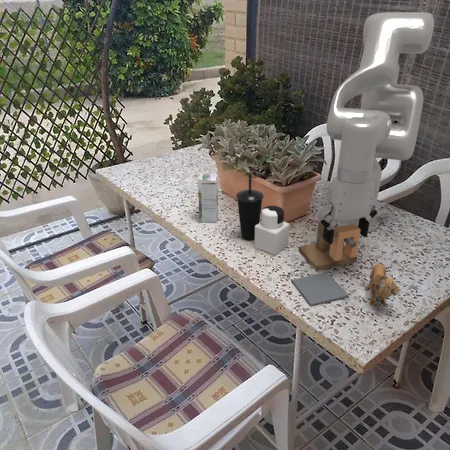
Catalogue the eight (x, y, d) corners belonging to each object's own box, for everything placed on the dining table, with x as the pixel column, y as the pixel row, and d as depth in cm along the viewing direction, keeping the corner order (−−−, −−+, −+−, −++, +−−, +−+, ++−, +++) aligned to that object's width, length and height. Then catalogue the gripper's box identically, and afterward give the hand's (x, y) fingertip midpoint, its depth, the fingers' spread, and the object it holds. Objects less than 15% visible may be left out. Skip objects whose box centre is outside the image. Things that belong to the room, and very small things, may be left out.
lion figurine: (396, 316, 94) (404, 284, 89) (372, 315, 94) (378, 283, 90) (380, 277, 106) (386, 247, 102) (359, 276, 107) (364, 246, 102)
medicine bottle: (268, 237, 124) (269, 200, 118) (288, 245, 120) (291, 207, 114) (253, 247, 120) (254, 210, 114) (274, 256, 116) (276, 217, 110)
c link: (349, 250, 109) (353, 223, 105) (356, 256, 106) (360, 229, 102) (329, 254, 107) (332, 227, 103) (335, 261, 105) (339, 233, 101)
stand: (336, 243, 121) (341, 205, 115) (368, 273, 108) (375, 233, 102) (298, 251, 117) (301, 213, 111) (327, 283, 105) (332, 242, 99)
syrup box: (200, 214, 138) (198, 173, 130) (218, 214, 137) (217, 173, 130) (199, 222, 133) (196, 180, 126) (218, 222, 132) (216, 180, 125)
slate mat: (326, 273, 108) (327, 271, 108) (348, 297, 100) (348, 295, 99) (291, 281, 105) (291, 279, 105) (310, 306, 97) (311, 304, 97)
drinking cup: (247, 246, 120) (247, 182, 110) (231, 235, 125) (230, 173, 116) (267, 237, 124) (269, 174, 114) (251, 227, 129) (252, 166, 119)
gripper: (376, 163, 101) (366, 225, 109) (312, 172, 97) (306, 236, 105) (396, 174, 95) (384, 239, 103) (329, 185, 90) (321, 252, 99)
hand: (345, 237), depth 104 cm, fingers open, 9 cm apart
